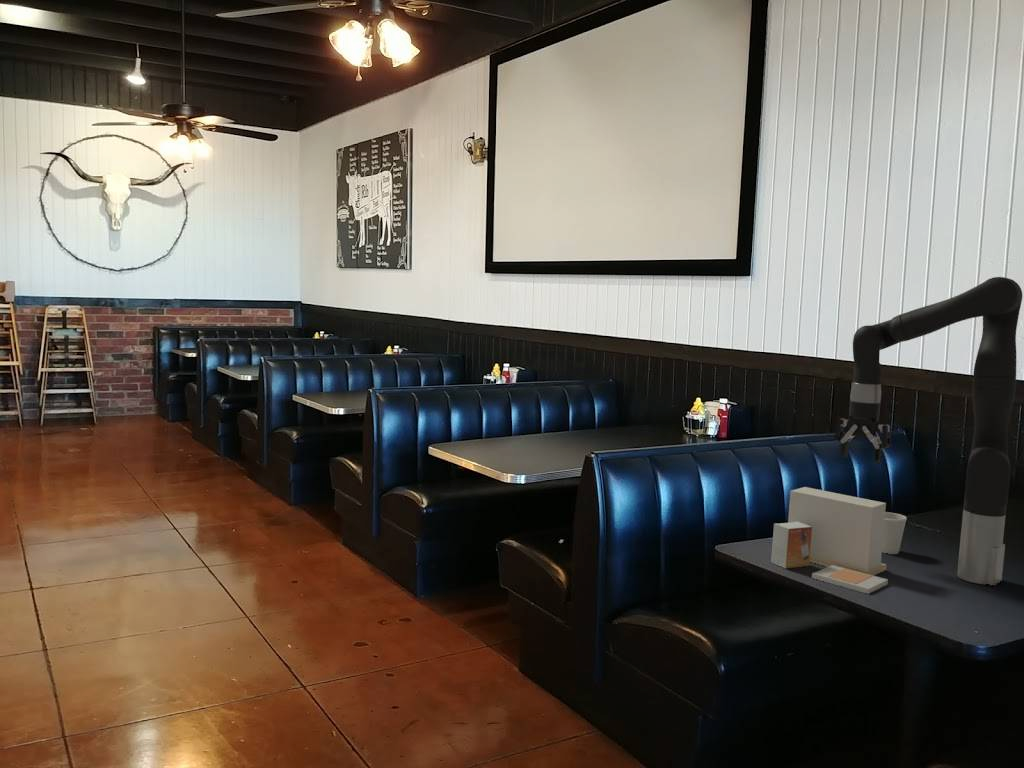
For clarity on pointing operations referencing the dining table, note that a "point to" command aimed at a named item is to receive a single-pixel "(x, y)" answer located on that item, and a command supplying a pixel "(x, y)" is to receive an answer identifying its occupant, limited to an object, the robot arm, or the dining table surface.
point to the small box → (791, 544)
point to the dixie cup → (893, 532)
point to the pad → (850, 579)
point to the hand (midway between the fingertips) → (860, 459)
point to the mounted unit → (841, 528)
